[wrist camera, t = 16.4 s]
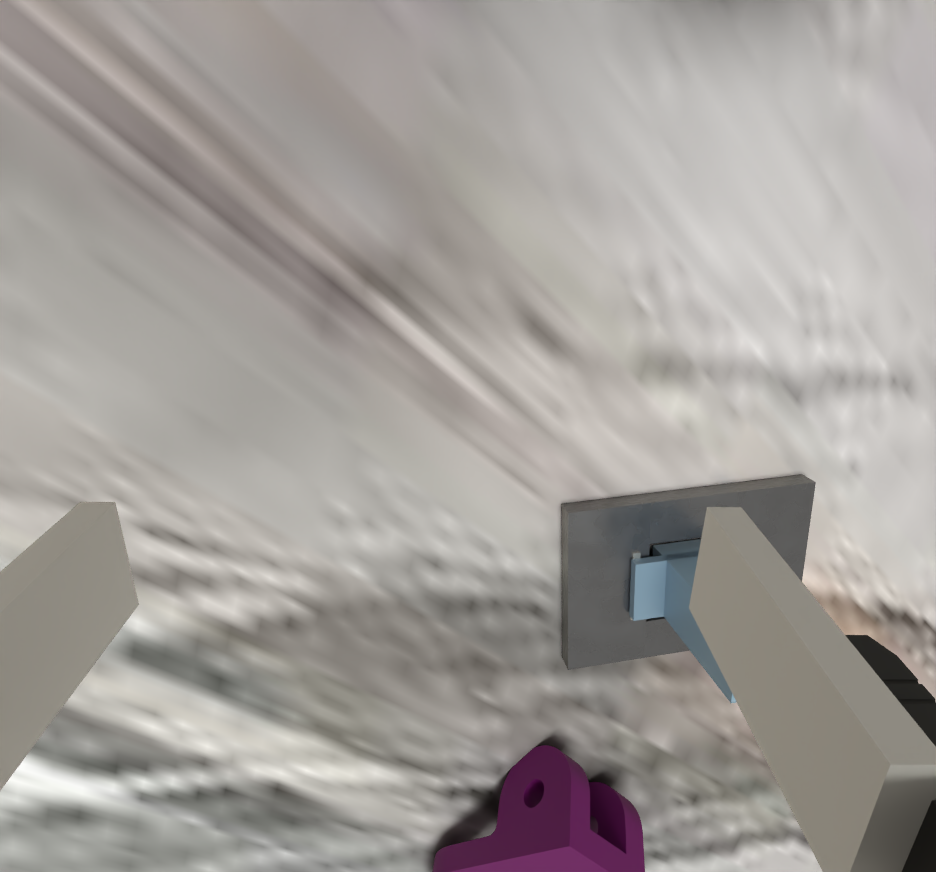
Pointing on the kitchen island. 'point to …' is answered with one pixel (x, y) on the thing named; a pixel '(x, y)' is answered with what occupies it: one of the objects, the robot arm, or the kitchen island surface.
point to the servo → (673, 598)
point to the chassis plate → (629, 537)
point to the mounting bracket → (553, 824)
